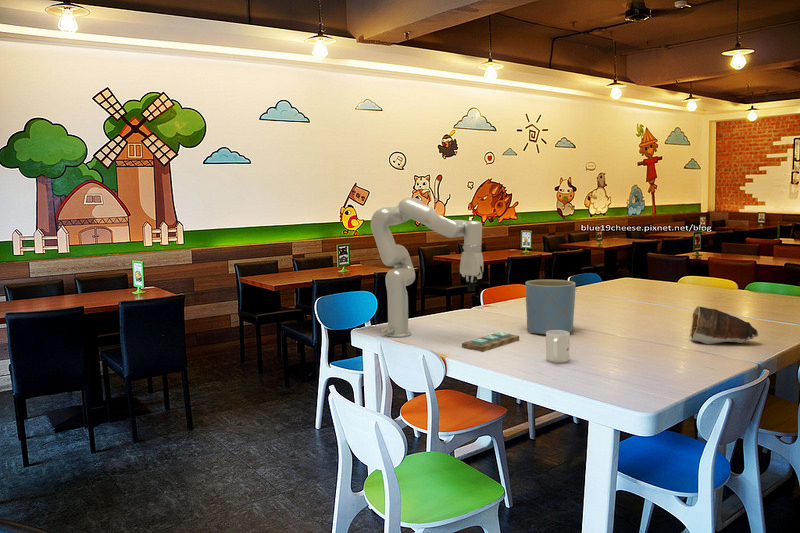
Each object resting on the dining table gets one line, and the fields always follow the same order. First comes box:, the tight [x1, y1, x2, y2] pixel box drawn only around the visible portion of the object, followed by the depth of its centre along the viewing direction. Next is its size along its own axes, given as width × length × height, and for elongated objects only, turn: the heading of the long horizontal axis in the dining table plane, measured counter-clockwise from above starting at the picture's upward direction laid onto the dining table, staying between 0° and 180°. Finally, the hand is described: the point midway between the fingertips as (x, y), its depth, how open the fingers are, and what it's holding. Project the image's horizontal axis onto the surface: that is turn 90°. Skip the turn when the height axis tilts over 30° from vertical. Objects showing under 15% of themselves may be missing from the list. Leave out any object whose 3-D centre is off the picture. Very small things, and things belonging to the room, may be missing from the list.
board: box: [461, 332, 520, 353], centre depth 262 cm, size 27×11×2 cm, turn 136°
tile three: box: [493, 331, 510, 338], centre depth 268 cm, size 5×5×3 cm
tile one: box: [471, 337, 488, 345], centre depth 257 cm, size 5×5×3 cm
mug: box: [545, 330, 571, 364], centre depth 232 cm, size 12×9×11 cm
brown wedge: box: [689, 306, 759, 345], centre depth 256 cm, size 15×15×25 cm
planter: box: [524, 279, 577, 335], centre depth 282 cm, size 23×23×24 cm
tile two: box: [482, 334, 499, 342], centre depth 262 cm, size 5×5×3 cm
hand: (471, 290), depth 264 cm, fingers closed
